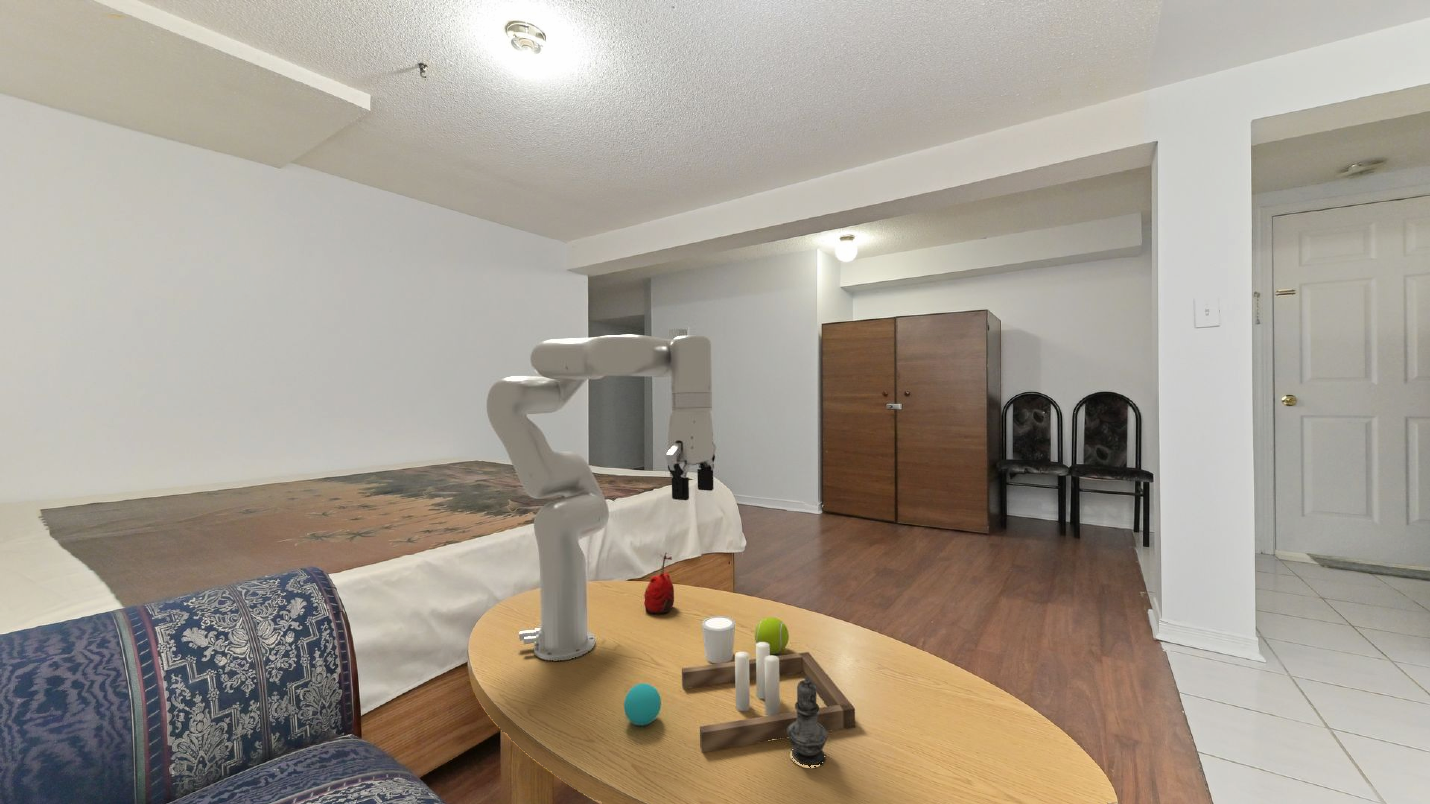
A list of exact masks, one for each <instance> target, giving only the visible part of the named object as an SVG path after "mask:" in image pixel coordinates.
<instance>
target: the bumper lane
mask: <svg viewBox="0 0 1430 804" xmlns="http://www.w3.org/2000/svg"><path fill="white" fill-rule="evenodd" d="M776 656H777V657H778V658H779V675H780V676H787V675H793V674H801V673H802V674H803V676H804V678H805V677H806V676H807V677H808V678H809V679H808V680H809V681H811V682H813V683H814V684H815V686H816V695H818V696H819V698H820V699H821V700H822V701H824V702H823V703H824V705H825V706H823V707H819V711H818V712H817V722H818V723H819V724H820V725H822V726H823V727H824V728H825V729H826V731H828V732H832V731H831V730H834V731H839V729H840V730H844V728H846V729H851V727H852V728H855V727H856V708H855V707H854V705H853V704H852V703H851V701H850V700H848V698H847V697H846V695H845V694H844V693H843V692H842V691H841V690H840V689H839V687H838V686H837V685H836V683H834V681H833V680H832V679H831V677H830V676H829V675H828V674H827V673H826V672H825V670H824V669H823V668H822V666H821V665H820V664H819V663H818V662H817V661H816V659H815V658H814V657H813V656H812V655H811V653H810V652H809V651H805V652H798V653H791V654H783V655H776ZM751 680H756V658H753V659H752V658H751V659H749V681H751ZM729 683H735V661H728V662H726V663H713V664H712V663H711V664H707V665H698V666H691V667H683V668H681V685H682V689H683V690H685V689H686V690H687V689H692V688H700V687H707V686H714V685H720V684H729ZM796 721H797V710H795V711H791V712H784V713H779V714H777V715H771V716H769V715H766V716H760V717H753V718H746V719H745V718H744V719H740V720H733V721H725V722H720V723H719V722H718V723H714V724H707V725H700V726H699V746H700V747H699V748H700V751H701V753H707V752H712V751H713V752H714V751H721V750H724V749H731V748H735V747H743V746H751V745H755V743H756V744H759V743H758V742H762V743H766V742H765V741H768V740H772V739H780V738H781V739H780V740H783V739H782V738H786V739H788V738H787V737H789V736H788V734H787V729H788V727H789V726H790V724H792V723H793V722H796ZM837 729H838V730H837ZM768 742H769V741H768Z"/></svg>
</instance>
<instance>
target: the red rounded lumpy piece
mask: <svg viewBox="0 0 1430 804" xmlns="http://www.w3.org/2000/svg"><path fill="white" fill-rule="evenodd" d="M667 554H668V552H665V554H664V555H662V554H660V556H661V557H662V559H663V560H662V565H661V566H660V567H661V572H660V574H658V575H652V576H651V577H650V581H649V583H648V584H647V587H646V588H645V590H644V594H643V596H644V602H643V603H644V609H645V611H646V612H649V613H651V614H653V613H654V615H660V614H661V615H662V614H667V613H668V612H670V611H671V610H672V608H673V606H674V603H675V588H674V584H673V581H672V580H671V578H670V577H671V576H670V574H669V573H665V562H666V560H669V561H672V560H673V558H672V556H670V557H669V556H668V557H667V556H666V555H667Z"/></svg>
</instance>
